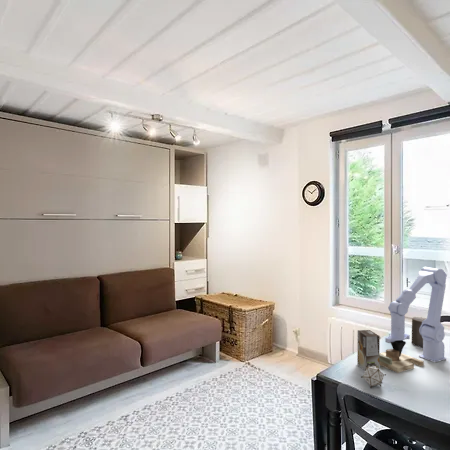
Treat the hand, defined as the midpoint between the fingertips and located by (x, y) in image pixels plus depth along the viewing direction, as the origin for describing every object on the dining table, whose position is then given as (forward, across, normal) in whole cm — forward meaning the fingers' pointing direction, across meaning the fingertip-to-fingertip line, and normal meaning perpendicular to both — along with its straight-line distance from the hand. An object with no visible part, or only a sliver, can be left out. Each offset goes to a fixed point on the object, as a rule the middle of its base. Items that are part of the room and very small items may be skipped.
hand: (397, 356), depth 165 cm
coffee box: (+3, +18, -1) cm, 19 cm away
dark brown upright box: (+3, -34, -11) cm, 36 cm away
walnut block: (+1, +4, 0) cm, 4 cm away
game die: (+3, +30, +12) cm, 33 cm away
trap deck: (+3, +2, 0) cm, 3 cm away
